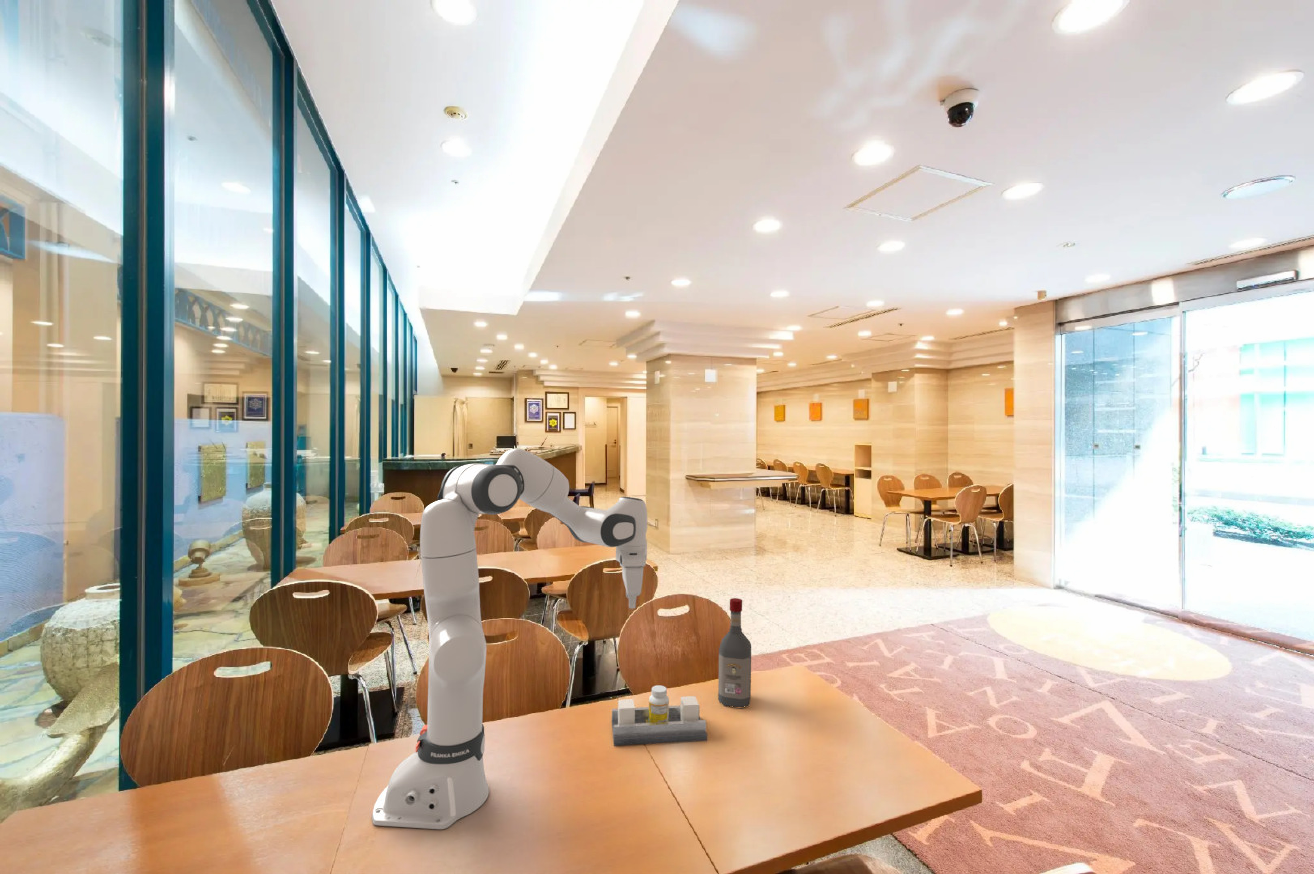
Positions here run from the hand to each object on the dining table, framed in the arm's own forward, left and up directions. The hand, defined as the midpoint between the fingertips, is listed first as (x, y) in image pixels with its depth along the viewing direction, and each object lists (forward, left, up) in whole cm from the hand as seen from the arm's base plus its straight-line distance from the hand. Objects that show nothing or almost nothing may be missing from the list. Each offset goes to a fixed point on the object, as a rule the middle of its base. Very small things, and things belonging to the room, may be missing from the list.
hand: (630, 602), depth 151 cm
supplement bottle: (+7, -10, -30) cm, 32 cm away
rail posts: (+7, -10, -30) cm, 32 cm away
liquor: (+32, +4, -31) cm, 45 cm away
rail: (+7, -10, -31) cm, 33 cm away
